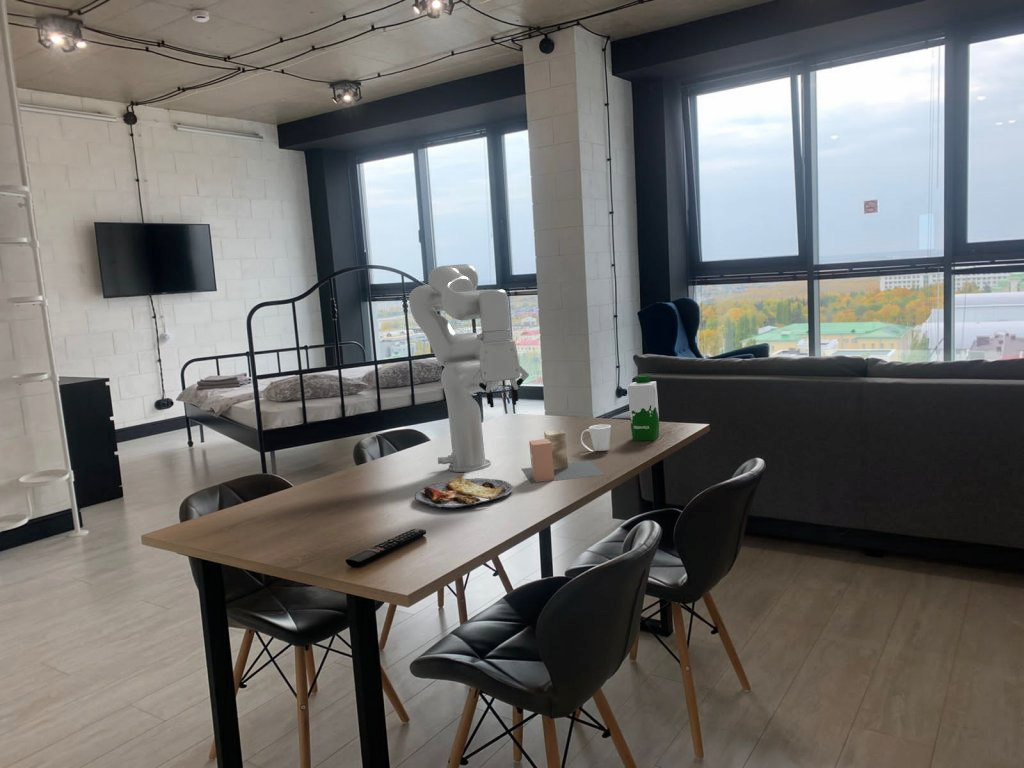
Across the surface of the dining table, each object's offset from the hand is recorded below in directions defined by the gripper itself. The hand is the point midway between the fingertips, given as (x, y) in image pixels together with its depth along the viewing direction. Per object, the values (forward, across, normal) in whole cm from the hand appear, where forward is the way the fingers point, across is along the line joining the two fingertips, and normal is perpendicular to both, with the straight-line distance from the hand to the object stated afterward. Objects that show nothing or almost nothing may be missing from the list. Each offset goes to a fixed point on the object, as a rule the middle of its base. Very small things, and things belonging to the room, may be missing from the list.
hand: (503, 404), depth 203 cm
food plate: (+22, -13, -8) cm, 27 cm away
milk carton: (+22, +49, +37) cm, 65 cm away
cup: (+22, +30, +25) cm, 45 cm away
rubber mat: (+21, +15, +5) cm, 27 cm away
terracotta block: (+21, +9, 0) cm, 23 cm away
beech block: (+21, +15, +11) cm, 28 cm away
